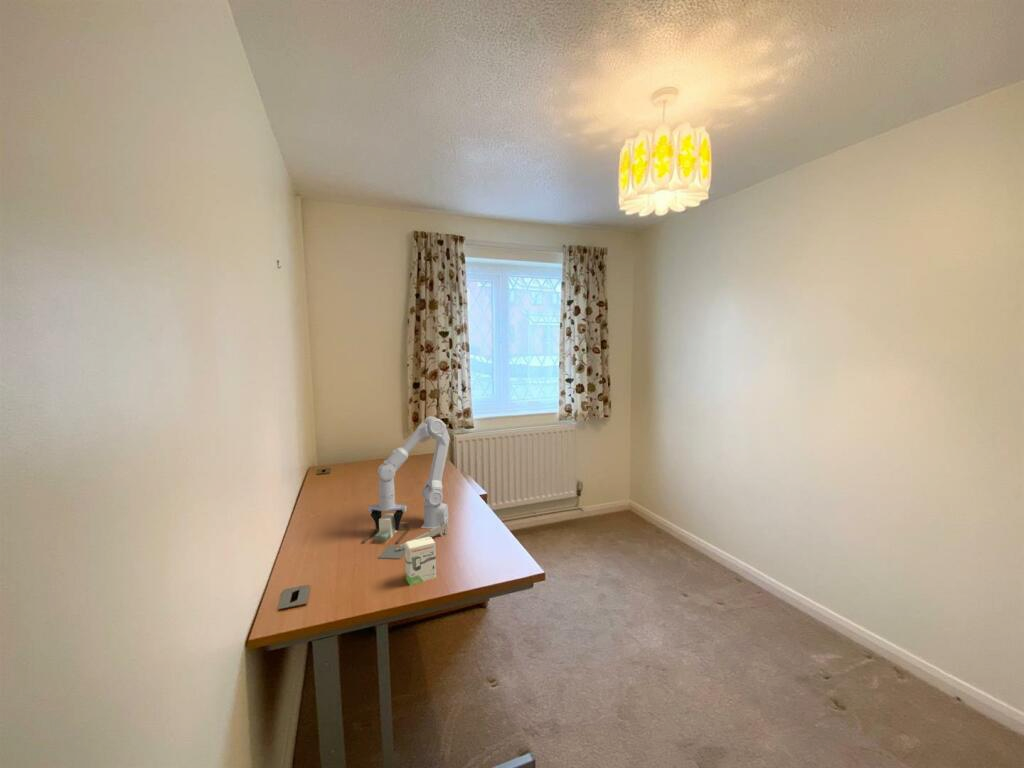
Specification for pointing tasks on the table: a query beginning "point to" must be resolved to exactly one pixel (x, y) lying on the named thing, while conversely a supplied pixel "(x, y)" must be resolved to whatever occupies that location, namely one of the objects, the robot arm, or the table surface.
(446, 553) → the table surface
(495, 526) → the table surface
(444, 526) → the caliper
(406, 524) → the frame
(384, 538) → the block
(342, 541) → the table surface
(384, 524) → the cream tapered prism
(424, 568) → the ink box
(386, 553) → the mat
